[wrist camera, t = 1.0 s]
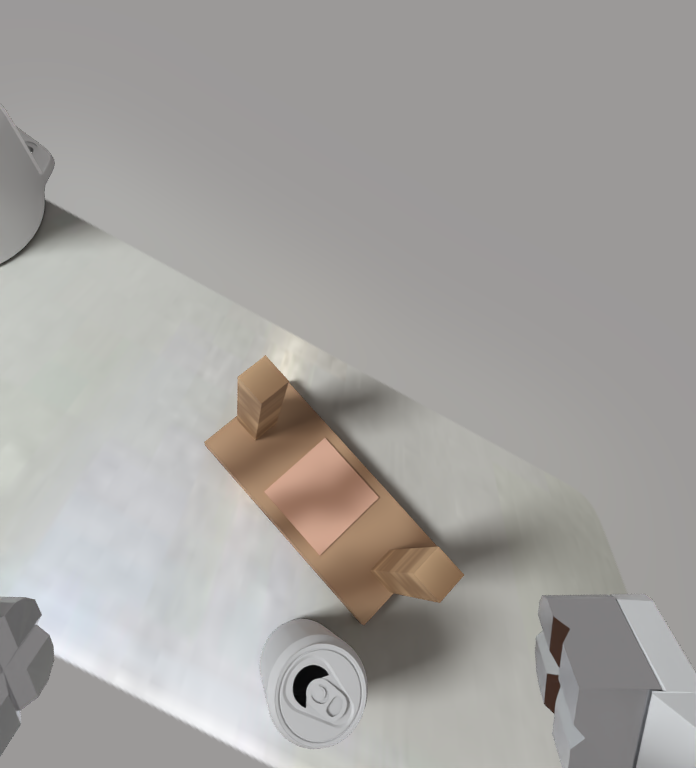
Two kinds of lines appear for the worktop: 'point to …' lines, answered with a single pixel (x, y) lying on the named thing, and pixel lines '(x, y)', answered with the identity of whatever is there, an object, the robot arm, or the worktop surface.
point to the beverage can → (312, 684)
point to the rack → (326, 499)
